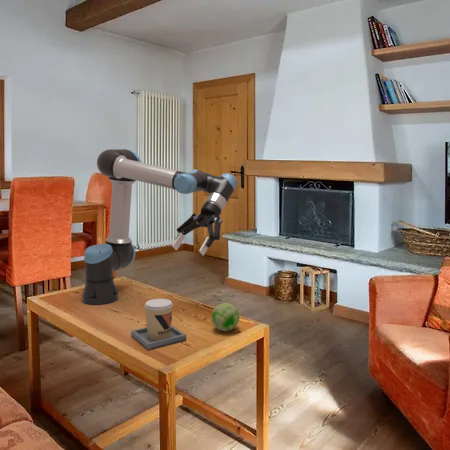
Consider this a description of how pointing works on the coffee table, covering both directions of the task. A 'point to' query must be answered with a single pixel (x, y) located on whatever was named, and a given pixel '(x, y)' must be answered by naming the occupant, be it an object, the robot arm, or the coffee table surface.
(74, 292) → the coffee table surface
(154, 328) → the coffee cup
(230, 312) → the decorative ball
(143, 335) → the tray
